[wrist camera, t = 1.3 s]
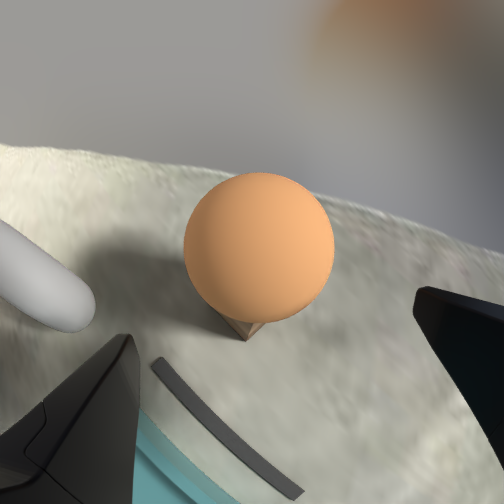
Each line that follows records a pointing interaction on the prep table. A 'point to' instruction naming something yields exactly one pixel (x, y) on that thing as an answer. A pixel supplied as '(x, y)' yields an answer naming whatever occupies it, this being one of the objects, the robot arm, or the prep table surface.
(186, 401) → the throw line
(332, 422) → the prep table surface
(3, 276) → the donut
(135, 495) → the tray
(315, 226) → the ball
